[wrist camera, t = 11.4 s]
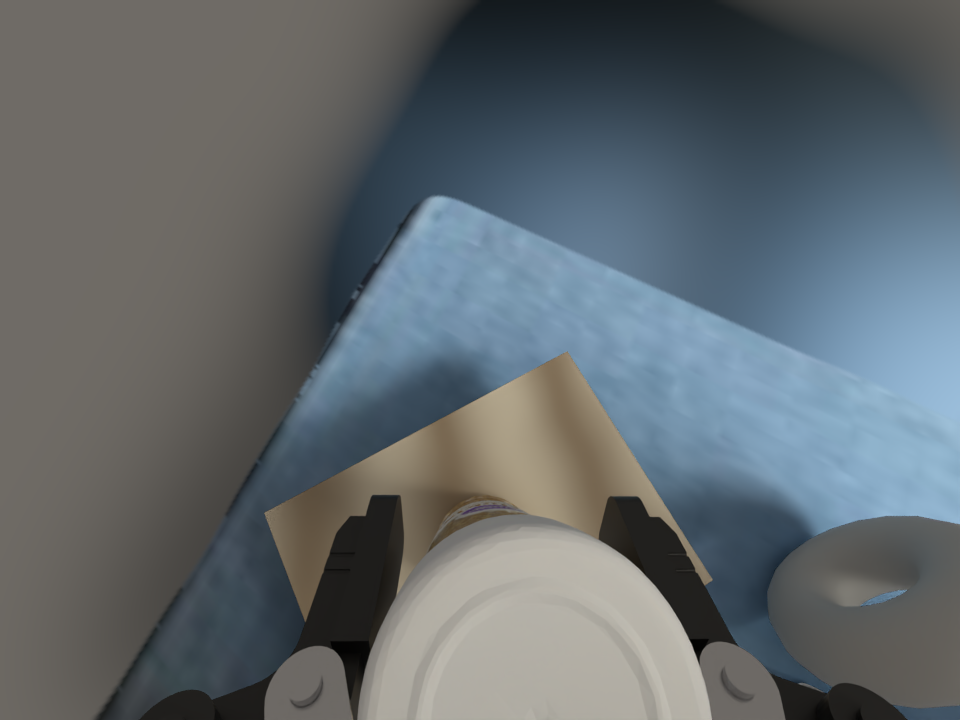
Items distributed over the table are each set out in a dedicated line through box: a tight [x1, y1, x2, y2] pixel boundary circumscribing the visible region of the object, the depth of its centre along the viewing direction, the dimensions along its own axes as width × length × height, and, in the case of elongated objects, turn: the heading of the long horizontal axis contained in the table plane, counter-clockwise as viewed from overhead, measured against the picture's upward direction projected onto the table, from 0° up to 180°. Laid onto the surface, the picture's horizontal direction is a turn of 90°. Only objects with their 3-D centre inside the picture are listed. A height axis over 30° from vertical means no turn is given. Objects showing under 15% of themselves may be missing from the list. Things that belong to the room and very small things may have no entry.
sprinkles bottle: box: [357, 495, 712, 720], centre depth 11 cm, size 5×5×14 cm
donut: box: [767, 516, 960, 709], centre depth 19 cm, size 10×4×10 cm, turn 124°
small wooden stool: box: [264, 352, 712, 622], centre depth 21 cm, size 16×12×6 cm
